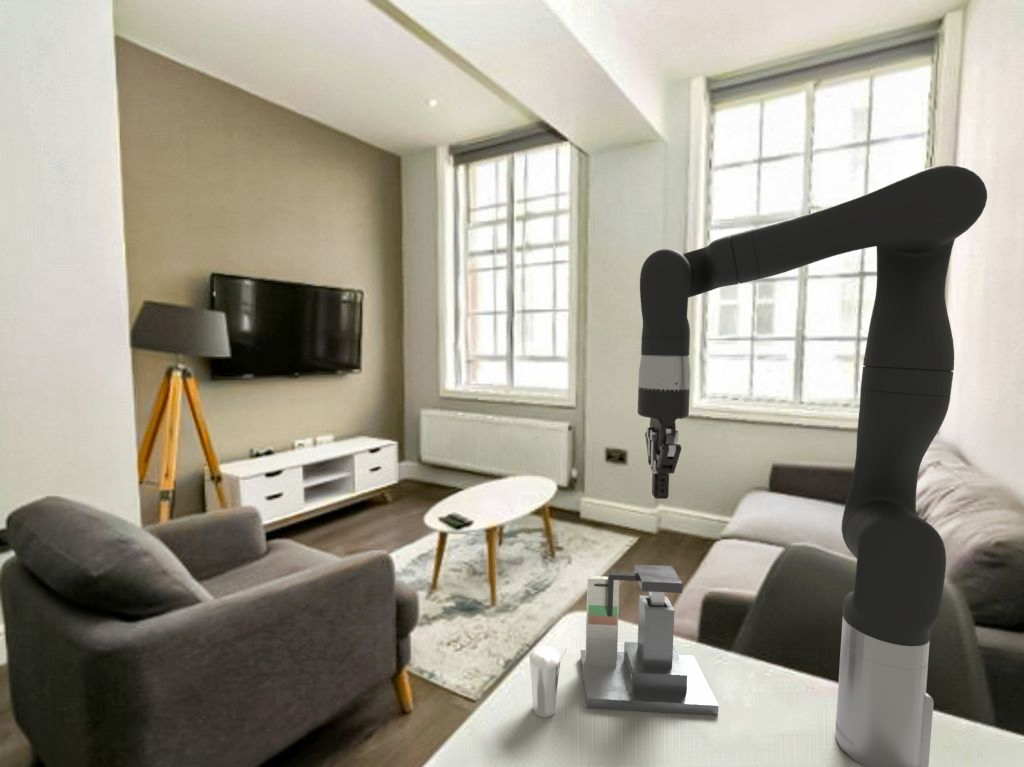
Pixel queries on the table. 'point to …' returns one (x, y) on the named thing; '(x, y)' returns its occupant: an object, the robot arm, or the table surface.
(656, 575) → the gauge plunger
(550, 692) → the milkshake
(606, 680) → the gauge stand
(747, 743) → the table surface
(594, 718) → the table surface
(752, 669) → the table surface
